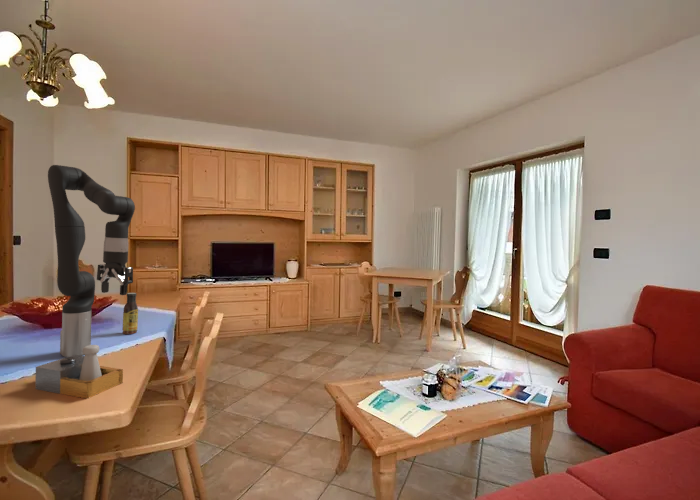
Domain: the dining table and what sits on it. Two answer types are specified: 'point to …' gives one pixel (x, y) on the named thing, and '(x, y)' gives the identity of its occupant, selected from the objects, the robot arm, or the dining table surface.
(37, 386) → the wooden open box
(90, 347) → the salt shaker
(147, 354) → the dining table surface
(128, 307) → the sauce bottle
